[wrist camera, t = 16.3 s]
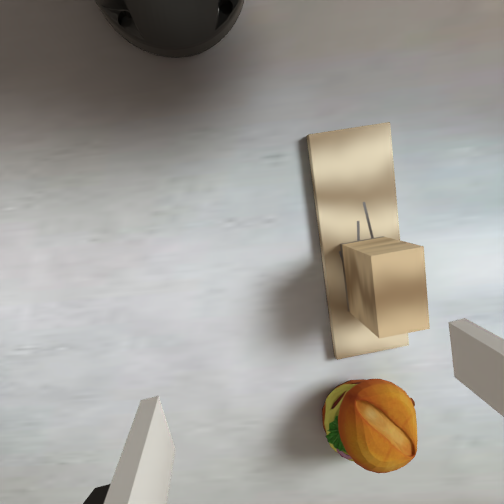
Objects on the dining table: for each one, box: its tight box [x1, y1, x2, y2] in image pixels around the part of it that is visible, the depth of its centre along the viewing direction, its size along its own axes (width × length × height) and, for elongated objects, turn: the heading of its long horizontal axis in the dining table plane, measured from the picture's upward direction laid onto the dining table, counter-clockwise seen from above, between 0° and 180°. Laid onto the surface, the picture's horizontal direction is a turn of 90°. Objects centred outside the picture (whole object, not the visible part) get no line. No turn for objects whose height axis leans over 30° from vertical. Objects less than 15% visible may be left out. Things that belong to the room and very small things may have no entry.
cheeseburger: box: [322, 379, 417, 473], centre depth 40 cm, size 10×11×10 cm
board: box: [307, 122, 409, 359], centre depth 40 cm, size 26×9×1 cm, turn 9°
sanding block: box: [340, 236, 430, 338], centre depth 36 cm, size 8×5×8 cm, turn 9°
